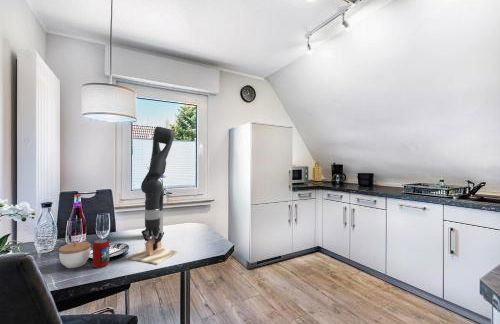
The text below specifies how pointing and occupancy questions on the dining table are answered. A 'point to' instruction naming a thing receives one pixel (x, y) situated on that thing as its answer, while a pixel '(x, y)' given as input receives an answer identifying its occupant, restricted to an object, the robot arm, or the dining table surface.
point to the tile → (151, 247)
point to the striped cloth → (152, 256)
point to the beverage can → (100, 253)
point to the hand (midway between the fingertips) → (153, 249)
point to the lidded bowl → (74, 254)
